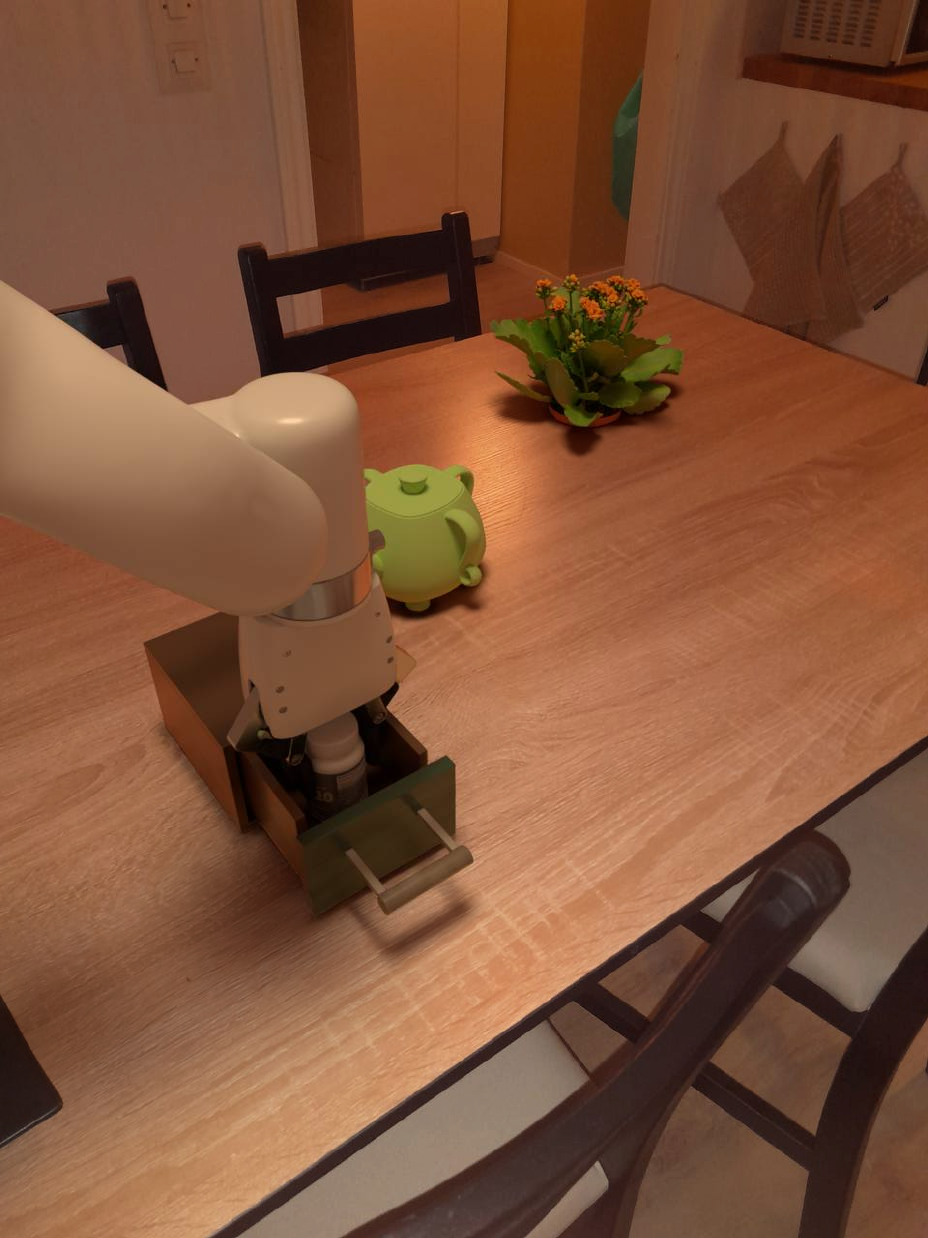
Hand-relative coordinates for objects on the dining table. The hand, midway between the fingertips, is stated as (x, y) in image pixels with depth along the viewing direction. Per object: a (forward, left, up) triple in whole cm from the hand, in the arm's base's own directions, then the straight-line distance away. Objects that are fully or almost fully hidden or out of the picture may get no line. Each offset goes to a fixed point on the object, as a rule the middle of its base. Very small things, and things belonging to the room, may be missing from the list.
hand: (334, 768), depth 72 cm
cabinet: (0, +11, -6) cm, 13 cm away
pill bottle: (0, 0, -4) cm, 4 cm away
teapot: (+22, +23, -7) cm, 33 cm away
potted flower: (+62, +41, -7) cm, 75 cm away
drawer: (0, -3, -5) cm, 6 cm away
